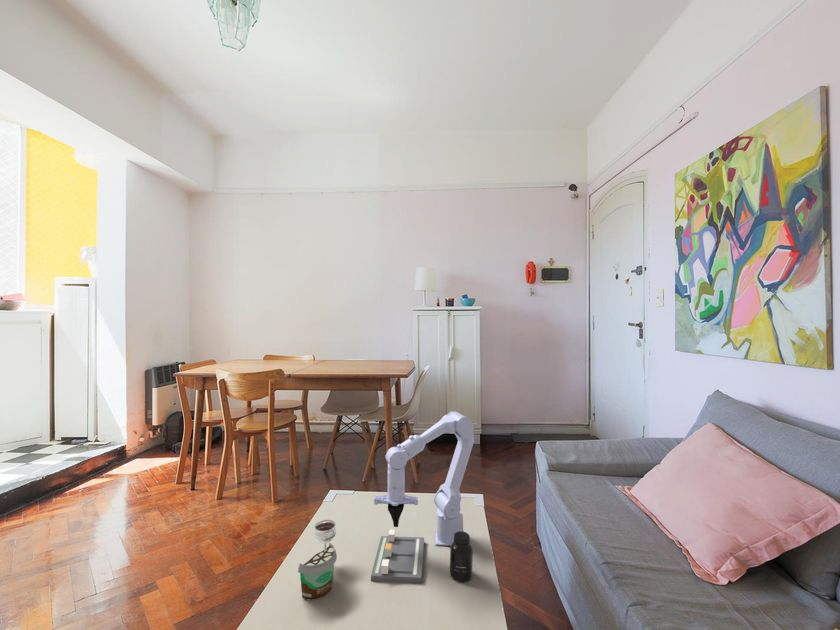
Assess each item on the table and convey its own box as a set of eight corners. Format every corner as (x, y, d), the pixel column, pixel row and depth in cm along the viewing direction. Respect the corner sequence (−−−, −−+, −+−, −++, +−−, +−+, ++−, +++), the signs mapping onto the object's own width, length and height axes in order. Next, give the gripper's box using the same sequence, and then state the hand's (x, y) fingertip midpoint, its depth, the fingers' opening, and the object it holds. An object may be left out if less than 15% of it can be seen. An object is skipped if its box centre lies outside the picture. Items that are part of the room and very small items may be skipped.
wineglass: (309, 567, 116) (309, 528, 116) (322, 554, 123) (322, 517, 123) (327, 572, 114) (328, 533, 114) (340, 559, 120) (340, 521, 120)
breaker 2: (395, 536, 130) (395, 529, 130) (394, 541, 127) (394, 534, 127) (389, 536, 130) (389, 529, 130) (388, 541, 127) (388, 534, 127)
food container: (313, 610, 99) (313, 572, 99) (297, 600, 103) (297, 564, 103) (345, 582, 110) (345, 548, 110) (330, 574, 113) (330, 541, 113)
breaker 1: (389, 567, 114) (389, 559, 114) (387, 574, 111) (387, 566, 111) (382, 567, 114) (382, 559, 114) (381, 573, 111) (381, 565, 111)
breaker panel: (424, 541, 130) (424, 537, 130) (421, 582, 110) (421, 577, 110) (381, 540, 131) (381, 535, 131) (370, 580, 111) (370, 575, 111)
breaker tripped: (392, 550, 122) (392, 543, 122) (391, 556, 119) (391, 549, 119) (386, 550, 122) (386, 543, 122) (384, 556, 119) (384, 548, 119)
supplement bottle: (458, 586, 109) (458, 544, 109) (445, 571, 115) (445, 532, 115) (477, 578, 112) (477, 538, 112) (464, 564, 118) (464, 526, 118)
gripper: (372, 489, 121) (372, 531, 121) (417, 490, 121) (417, 532, 121) (376, 480, 128) (376, 519, 128) (418, 480, 128) (418, 520, 128)
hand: (396, 525), depth 125 cm, fingers closed
